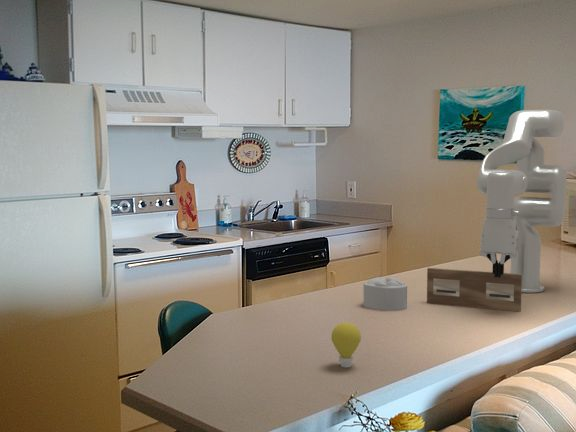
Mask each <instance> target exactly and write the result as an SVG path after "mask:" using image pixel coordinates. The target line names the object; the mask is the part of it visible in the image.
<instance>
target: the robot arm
mask: <svg viewBox="0 0 576 432" xmlns="http://www.w3.org/2000/svg"><path fill="white" fill-rule="evenodd" d="M564 128H565V118H564V115H563V113H562V112H561V111H560V110H554V109H522V110H518V111H515V112H513V113H512V114H511V115H510V116H509V117H508V122H507V125H506V128H505V129H506V130H505V133H504V137H503V141H502V143H501V144H500V145H498V146H497V147H495V148H493V149H492V150H491V151H489V153H488V154H487V155H485V157H484V158H483V159H482V161H481V165H480V168H479V169H478V170H479V171H478V175H477V180H476V186H477V190H478V191H479V192H480V193H481V194H483V195H486V207H485V208H486V209H485V210H486V211H485V213H486V215H485V218H483V221H482V222H483V223H482V227H481V231H480V232H481V234H480V246H479V247H480V251H479V256H482V257H484V258H487V259H488V260H489V261H490V262H491V263H492V272H493V274H495V277H498V278H500V277H501V276H502V275H503V274H504V273H505V263H506V262H507V261H508V260H510V274H522V290H521V293H525V294H526V293H530V294H531V293H534V294H535V293H541V292H544V291H545V286H544V285H542V284H540V279H541V278H540V277H541V252H542V251H541V250H542V249H541V248H542V238H541V235H540V234H539V233H540V232H538V231H537V229H536V228H535V227H536V226H537V227H538V226H542V227H560V225H562V224H563V223H564V221H565V214H566V199H567V198H566V197H567V196H566V195H567V173H566V170H565V168H564V167H563V166H560V165H558V164H544V162H545V150H544V148H543V145H542V144H541V143H540V141H539V140H538V139H537V138H558V137H559V136H561V134H563V131H564ZM515 162H516V169H499V168H501V167H503V166H507V165H509V164H513V163H515ZM523 193H528V194H548V195H550V197H539V196H520V195H522V194H523ZM515 196H519V197H515ZM534 226H535V227H534ZM497 254H499V255H500V258H499V259H500V260H499V261H498V259H497Z"/></svg>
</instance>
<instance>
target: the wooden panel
mask: <svg viewBox="0 0 576 432" xmlns="http://www.w3.org/2000/svg"><path fill="white" fill-rule="evenodd" d="M426 270H427V271H426V278H427V279H426V281H427V282H426V304H433V305H444V306H454V307H465V308H466V307H467V308H477V309H487V310H498V311H499V310H500V311H509V312H510V311H511V312H519V313H521V311H522V292H521V290H522V274H510V273H508V272H504V274H503V275H502V276H501V277H500V278H498V277H495V274H493V271H480V270H465V269H464V270H463V269H451V268H449V269H448V268H437V267H428V268H427V269H426Z"/></svg>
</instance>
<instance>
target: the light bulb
mask: <svg viewBox="0 0 576 432" xmlns="http://www.w3.org/2000/svg"><path fill="white" fill-rule="evenodd" d="M330 337H331V338H330V339H331V342H332V344H333V345H334V348H335V350H336V351H337V353H338V354H339V355H338V362H339V363H340V367H342V368H350V367H352V363H354V357H353V354H354V353H355V351H356V350H357V348H358V347H359V345H360V342H361V340H362V337H361V332H360V329H359V328H358V327H357V326H356V325H355V324H353V323H351V322H345V321H344V322H341V323H338V324H337V325H336V326H335V327H334V328H333V329H332V332H331V336H330Z"/></svg>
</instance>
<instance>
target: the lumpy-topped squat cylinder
mask: <svg viewBox="0 0 576 432" xmlns="http://www.w3.org/2000/svg"><path fill="white" fill-rule="evenodd" d="M363 308H365V309H370V310H371V309H372V310H377V311H383V312H384V311H387V312H388V311H390V312H391V311H392V312H393V311H395V312H398V311H405V310H407V309H408V285H407V284H406V283H404V282H402V281H401V280H400V279H398V278H395V277H393V276H388V277H386V278H384V277H379V276H378V277H377V276H376V277H374V278H372V279H369V280H368V281H367V282H364V283H363Z"/></svg>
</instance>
